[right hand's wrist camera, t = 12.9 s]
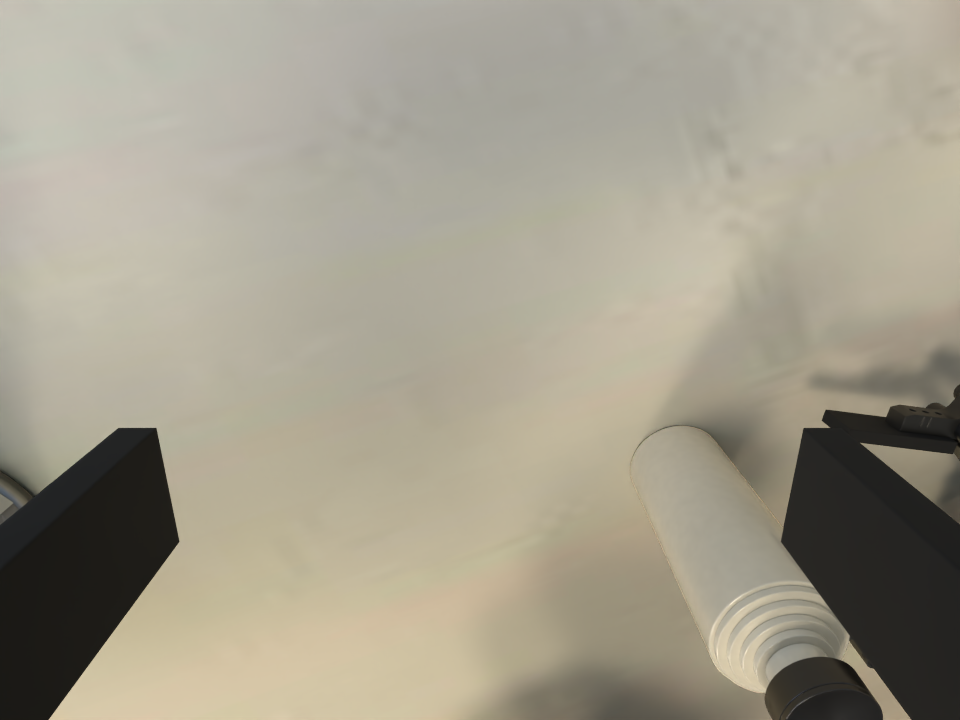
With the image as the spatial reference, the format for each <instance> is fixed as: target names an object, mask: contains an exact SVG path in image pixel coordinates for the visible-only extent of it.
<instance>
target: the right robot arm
mask: <svg viewBox="0 0 960 720" xmlns="http://www.w3.org/2000/svg"><path fill="white" fill-rule="evenodd" d="M178 543H179V538H178V533H177V528H176V523H175V518H174V513H173V508H172V503H171V498H170V493H169V488H168V483H167V478H166V473H165V468H164V464H163V459H162V454H161V449H160V444H159V439H158V434H157V429H156V428H118V429H117V430H116V431H114V432H113V433H112V434H111V435H109V436H108V437H107V438H106V439H105V440H103V441H102V442H101V443H100V444H98V445H97V446H96V447H95V448H94V449H92V450H91V451H90V452H89V453H87V454H86V455H85V456H84V457H83V458H81V459H80V460H79V461H78V462H76V463H75V464H74V465H73V466H72V467H70V468H69V469H68V470H67V471H65V472H64V473H63V474H62V475H60V476H59V477H58V478H57V479H56V480H54V481H53V482H52V483H51V484H49V485H48V486H47V487H46V488H45V489H43V490H42V491H41V492H40V493H38V494H37V495H36V496H35V497H34V498H33V497H32V496H31V495H30V494H29V493H28V492H27V491H26V490H25V489H24V488H23V487H22V486H20V485H19V484H18V483H16V482H15V481H14V480H13V479H11V478H10V477H8V476H7V475H5V474H3V473H2V472H0V720H49V718H50V717H51V716H52V714H53V713H54V712H55V710H56V709H57V707H58V706H59V705H60V703H61V702H62V701H63V699H64V698H65V697H66V695H67V694H68V692H69V691H70V690H71V688H72V687H73V686H74V684H75V683H76V682H77V680H78V679H79V678H80V676H81V675H82V673H83V672H84V671H85V669H86V668H87V667H88V665H89V664H90V663H91V661H92V660H93V658H94V657H95V656H96V654H97V653H98V652H99V650H100V649H101V648H102V646H103V645H104V644H105V642H106V641H107V639H108V638H109V637H110V635H111V634H112V633H113V631H114V630H115V629H116V627H117V626H118V624H119V623H120V622H121V620H122V619H123V618H124V616H125V615H126V614H127V612H128V611H129V610H130V608H131V607H132V605H133V604H134V603H135V601H136V600H137V599H138V597H139V596H140V595H141V593H142V592H143V590H144V589H145V588H146V586H147V585H148V584H149V582H150V581H151V580H152V578H153V577H154V576H155V574H156V573H157V571H158V570H159V569H160V567H161V566H162V565H163V563H164V562H165V561H166V559H167V558H168V556H169V555H170V554H171V552H172V551H173V550H174V548H175V547H176V546H177V544H178ZM781 543H782V544H783V546H784V547H785V548H786V550H787V551H788V552H789V554H790V555H791V556H792V558H793V559H794V561H795V562H796V563H797V565H798V566H799V567H800V569H801V570H802V571H803V573H804V574H805V576H806V577H807V578H808V580H809V581H810V582H811V584H812V585H813V586H814V588H815V589H816V590H817V592H818V593H819V595H820V596H821V597H822V599H823V600H824V601H825V603H826V604H827V605H828V607H829V608H830V610H831V611H832V612H833V614H834V615H835V616H836V618H837V619H838V620H839V622H840V623H841V624H842V626H843V627H844V629H845V630H846V631H847V633H848V634H849V635H850V637H851V638H852V639H853V641H854V642H855V644H856V645H857V646H858V648H859V649H860V650H861V652H862V653H863V654H864V656H865V657H866V658H867V660H868V661H869V663H870V664H871V665H872V667H873V668H874V669H875V671H876V672H877V673H878V675H879V676H880V678H881V679H882V680H883V682H884V683H885V684H886V686H887V687H888V688H889V690H890V691H891V692H892V694H893V695H894V697H895V698H896V699H897V701H898V702H899V703H900V705H901V706H902V707H903V709H904V710H905V712H906V713H907V714H908V716H909V717H910V718H911V720H960V525H959V524H958V523H957V522H956V521H955V520H953V519H952V518H951V517H950V516H948V515H947V514H946V513H945V512H944V511H942V510H941V509H940V508H939V507H937V506H936V505H935V504H934V503H933V502H931V501H930V500H929V499H928V498H926V497H925V496H924V495H923V494H922V493H920V492H919V491H918V490H917V489H915V488H914V487H913V486H912V485H911V484H909V483H908V482H907V481H906V480H904V479H903V478H902V477H901V476H900V475H898V474H897V473H896V472H895V471H893V470H892V469H891V468H890V467H888V466H887V465H886V464H885V463H884V462H882V461H881V460H880V459H879V458H877V457H876V456H875V455H874V454H873V453H871V452H870V451H869V450H868V449H866V448H865V447H864V446H863V445H862V444H860V443H859V442H858V441H857V440H855V439H854V438H853V437H852V436H851V435H849V434H848V433H847V432H846V431H844V430H843V429H842V428H804V429H803V434H802V439H801V444H800V449H799V454H798V459H797V464H796V468H795V473H794V478H793V483H792V488H791V493H790V498H789V503H788V508H787V513H786V518H785V523H784V528H783V533H782V538H781Z"/></svg>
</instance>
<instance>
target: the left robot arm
mask: <svg viewBox="0 0 960 720" xmlns="http://www.w3.org/2000/svg"><path fill="white" fill-rule="evenodd" d="M953 394H954V397H955V400H954V401H953V402H952V403H951V404H950V405H949V406H947V407H944V406H943V405H941V404H939V403H932V404H930V405H928V406H927V407H926V408H921V407H913V406H905V405H897V406H892V407H890V409H889V412H888V414H887V417H880V416H872V415H864V414H856V413H848V412H840V411H832V410H826V411H825V413H824V416H823V419H822V421H823V422H824V423H825V424H827V425H828V426H829V427H830V428H842V429H843V430H844V431H846V432H847V433H848V434H849V435H851V436H852V437H853V438H854V439H855V440H857V441H858V442H859V443H867V444H875V445H883V446H891V447H900V448H908V449H916V450H924V451H932V452H940V453H948V454H953V453H955V455H956V456H957V457H958V459H959V460H960V385H958V386H957V387H956V388H955V390H954V393H953ZM849 641H850V643H851V644H852V645H853V647H854V648H855V649H856V651H857V652H858V653H859V655H860V656H861V658H862V659H863V660H864V662H865V663H866V664H867V666H868V667H870V668H873V667H872V665H871V664H870V663H869V661H868V660H867V658H866V657H865V656H864V654H863V653H862V652H861V650H860V649H859V648H858V646H857V645H856V644H855V642H854V641H853V639H852V638H851V637H849Z"/></svg>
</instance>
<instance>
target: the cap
mask: <svg viewBox="0 0 960 720" xmlns="http://www.w3.org/2000/svg"><path fill="white" fill-rule="evenodd" d="M765 704H766V708H767V710H768V712H769V714H770V716H771V718H772V720H883V714H882V710H881V708H880V706H879V704H878V703H877V701H876V700H875V698H874V697H873V695H872V694H871V693H870V691H869V690H868V688H867V687H866V686H865V684H864V683H863V681H862V680H861V678H860V677H859V676H858V674H857V673H856V671H855V670H854V669H853V668H852V667H851V666H850V665H848V664H847V663H845V662H843V661H841V660H839V659H835V658H831V657H811V658H806V659H802V660H799V661H796V662H794V663H792V664H790V665H788V666H786V667H785V668H783V669H782V670H781V671H779V672H778V673H777V674H776V675H775V676H774V677H773V679H772V680H771V681H770V683H769V685H768V687H767V689H766V693H765Z"/></svg>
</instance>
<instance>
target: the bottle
mask: <svg viewBox="0 0 960 720" xmlns="http://www.w3.org/2000/svg"><path fill="white" fill-rule="evenodd" d="M630 475H631V480H632V483H633V486H634V488H635V490H636V492H637V495H638V497H639V499H640V501H641V504H642V506H643V508H644V510H645V512H646V515H647V517H648V519H649V521H650V524H651V526H652V528H653V530H654V533H655V535H656V537H657V539H658V541H659V544H660V546H661V548H662V550H663V553H664V555H665V557H666V559H667V562H668V564H669V566H670V568H671V570H672V573H673V575H674V577H675V579H676V582H677V584H678V586H679V588H680V591H681V593H682V595H683V597H684V599H685V602H686V604H687V606H688V608H689V611H690V613H691V615H692V617H693V620H694V622H695V624H696V626H697V628H698V631H699V633H700V635H701V637H702V640H703V642H704V644H705V646H706V649H707V651H708V653H709V655H710V657H711V660H712V662H713V663H714V665H715V667H716V668H717V669H718V670H719V671H720V672H721V673H722V674H723V675H724V676H725V677H726V678H728V679H729V680H731V681H732V682H733V683H735V684H736V685H738V686H740V687H742V688H744V689H747V690H749V691H753V692H757V693H766V689H767V687H768V685H769V683H770V681H771V680H772V679H773V677H774V676H775V675H776V674H777V673H778V672H779V671H781V670H782V669H783V668H785V667H786V666H788V665H790V664H792V663H794V662H796V661H799V660H802V659H806V658H811V657H831V658H835V659H839V660H841V659H842V657H843V656H844V654H845V652H846V650H847V647H848V643H849V637H850V635H849V634H848V633H847V631H846V630H845V629H844V627H843V626H842V624H841V623H840V622H839V620H838V619H837V618H836V616H835V615H834V614H833V612H832V611H831V610H830V608H829V607H828V605H827V604H826V603H825V601H824V600H823V599H822V597H821V596H820V595H819V593H818V592H817V590H816V589H815V588H814V586H813V585H812V584H811V582H810V581H809V580H808V578H807V577H806V576H805V574H804V573H803V571H802V570H801V569H800V567H799V566H798V565H797V563H796V562H795V561H794V559H793V558H792V556H791V555H790V554H789V552H788V551H787V550H786V548H785V547H784V546H783V544H782V543H781V538H782V533H783V526H782V525H781V524H780V522H779V521H778V520H777V519H776V517H775V516H774V515H773V514H772V512H771V511H770V510H769V508H768V507H767V506H766V505H765V503H764V502H763V501H762V499H761V498H760V497H759V496H758V494H757V493H756V492H755V490H754V489H753V488H752V487H751V485H750V484H749V483H748V482H747V480H746V479H745V478H744V476H743V475H742V474H741V473H740V471H739V470H738V469H737V467H736V466H735V465H734V464H733V462H732V461H731V460H730V459H729V457H728V456H727V455H726V453H725V452H724V451H723V450H722V448H721V447H720V446H719V444H718V443H717V442H716V441H715V440H714V438H713V437H712V436H710V435H709V434H708V433H706V432H705V431H703V430H700V429H698V428H695V427H690V426H672V427H668V428H665V429H662V430H659V431H657V432H655V433H654V434H652V435H650V436H649V437H648V438H646V439H645V440H644V441H643V442H642V443H641V444H640V446H639V447H638V448H637V450H636V452H635V453H634V456H633V458H632V461H631V466H630Z"/></svg>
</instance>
